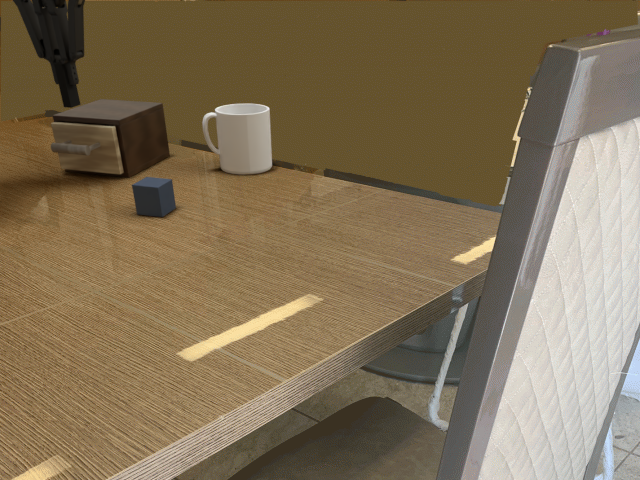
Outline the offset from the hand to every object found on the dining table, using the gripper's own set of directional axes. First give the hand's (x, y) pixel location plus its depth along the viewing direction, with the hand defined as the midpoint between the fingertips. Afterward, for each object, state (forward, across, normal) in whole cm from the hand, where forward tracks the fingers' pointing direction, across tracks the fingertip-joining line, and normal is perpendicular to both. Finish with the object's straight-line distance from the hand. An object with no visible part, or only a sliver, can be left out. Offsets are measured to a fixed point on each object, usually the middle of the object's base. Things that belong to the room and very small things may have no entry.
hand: (72, 105), depth 110 cm
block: (+12, +21, -12) cm, 27 cm away
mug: (+13, +24, +15) cm, 31 cm away
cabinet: (+12, 0, +11) cm, 17 cm away
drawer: (+11, 0, +6) cm, 13 cm away
